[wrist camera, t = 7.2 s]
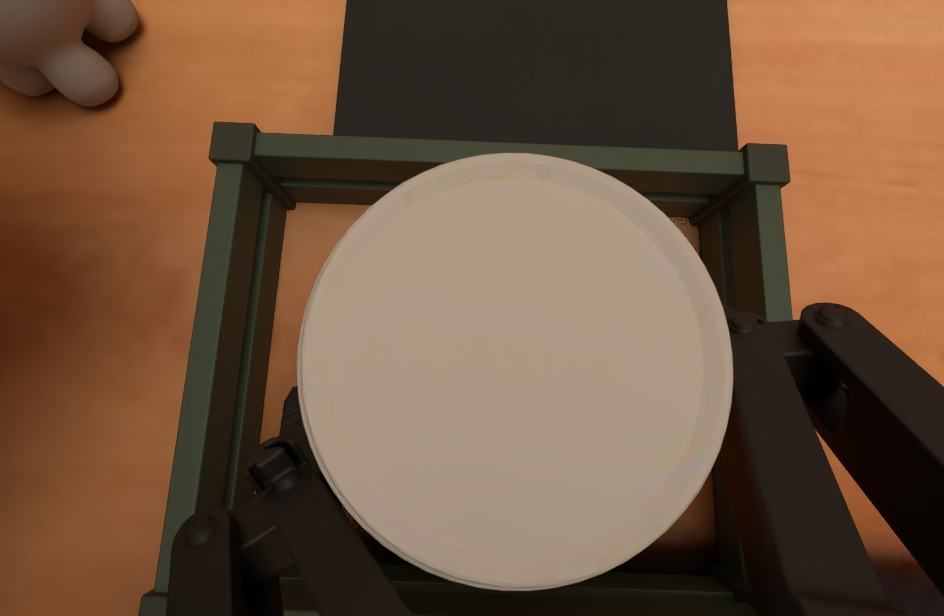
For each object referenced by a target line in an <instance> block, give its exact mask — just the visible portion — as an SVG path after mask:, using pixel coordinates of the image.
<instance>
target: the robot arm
mask: <svg viewBox="0 0 944 616" xmlns="http://www.w3.org/2000/svg"><path fill="white" fill-rule="evenodd" d="M721 304H722V306H723V309H724V313H725V317H726V321H727V325H728V329H729V335H730V342H731V348H732V357H733V390H732V403H731V408H730V413H729V418H728V423H727V428H726V431H725V435H724V438H723V442H722V445H721V449H720V450H721V455H722V459H723V464H724V469H725V473H726V478H727V482H728V487H729V491H730V496H731V500H732V505H733V509H734V514H735V518H736V523H737V527H738V532H739V536H740V541H741V545H742V550H743V554H744V559H745V564H746V568H747V573H748V577H749V582H750V586H751V591H752V595H753V600H754V604H755V609H756V613H757V616H908V615H907V614H906V612H905V611H903V610H901V609H899V608H897V607H895V606H893V605H892V604H891V603H890V602H889V601H888V599H887V598H886V596H885V594H884V592H883V590H882V587H881V585H880V583H879V580H878V578H877V575H876V573H875V571H874V568H873V566H872V564H871V561H870V559H869V556H868V554H867V552H866V549H865V547H864V545H863V542H862V540H861V538H860V535H859V533H858V530H857V528H856V526H855V523H854V521H853V519H852V516H851V514H850V511H849V509H848V507H847V504H846V502H845V500H844V497H843V495H842V493H841V490H840V488H839V485H838V483H837V481H836V478H835V476H834V474H833V471H832V469H831V466H830V464H829V462H828V459H827V457H826V455H825V452H824V450H823V448H822V445H821V443H820V440H819V438H818V436H817V433H816V431H817V432H818V433H819V435H820V436H821V437H822V439H823V440H824V441H825V443H826V444H827V445H828V446H829V448H830V449H831V450H832V452H833V453H834V454H835V456H836V457H837V458H838V459H839V461H840V462H841V463H842V465H843V466H844V467H845V469H846V470H847V471H848V472H849V474H850V475H851V476H852V478H853V479H854V480H855V482H856V483H857V484H858V486H859V487H860V488H861V489H862V491H863V492H864V493H865V495H866V496H867V497H868V499H869V500H870V501H871V502H872V504H873V505H874V506H875V508H876V509H877V510H878V512H879V513H880V514H881V515H882V517H883V518H884V519H885V521H886V522H887V523H888V525H889V526H890V527H891V529H892V530H893V531H894V532H895V534H896V535H897V536H898V538H899V539H900V540H901V542H902V543H903V544H904V545H905V547H906V548H907V549H908V551H909V552H910V553H911V555H912V556H913V557H914V558H915V560H916V561H917V562H918V564H919V565H920V566H921V568H922V569H923V570H924V571H925V573H926V574H927V575H928V577H929V578H930V579H931V581H932V582H933V583H934V585H935V586H936V587H937V588H938V590H939V591H940V592H941V594H942V595H943V596H944V387H943V386H942V385H941V384H940V383H939V382H938V381H936V380H935V379H934V378H933V377H932V376H931V375H929V374H928V373H927V372H926V371H925V370H924V369H923V368H921V367H920V366H919V365H918V364H917V363H916V362H914V361H913V360H912V359H911V358H910V357H909V356H907V355H906V354H905V353H904V352H903V351H902V350H901V349H899V348H898V347H897V346H896V345H895V344H894V343H892V342H891V341H890V340H889V339H888V338H887V337H885V336H884V335H883V334H882V333H881V332H880V331H879V330H877V329H876V328H875V327H874V326H873V325H872V324H870V323H869V322H868V321H867V320H866V319H865V318H863V317H862V316H861V315H860V314H859V313H857V312H856V311H854V310H852V309H851V308H849V307H846V306H843V305H840V304H834V303H815V304H811V305H808V306H806V307H805V308H804V309H803V310H802V312H801V316H800V320H791V321H779V322H768V321H767V320H766V319H765V318H763V317H762V316H760V315H758V314H755V313H751V312H748V311H733V310H732V309H730V308H729V307H728V306H727V305H725V304H724V303H723V302H722V301H721ZM282 415H283V417H282V420H281V428H280V434H279V437H275V438H271V439H269V440H267V441H265V442H263V443H262V444H260V445H259V446H258V447H257V448H256V449H254V450H253V451H252V452H251V454H250V455H249V457H248V458H247V459H246V461H245V464H244V467H243V473H244V477H245V478H246V479H247V481H248V482H249V483H250V484H251V485H252V487H253V488H254V489H255V490H256V491H257V493H256V494H255V495H253V496H252V497H250V498H249V499H247V500H246V501H244V502H242V503H241V504H239V505H238V506H236V507H234V508H233V509H231V510H229V511H228V510H227V509H225V508H224V507H222V506H221V505H211V506H208V507H206V508H203V509H201V510H199V511H197V512H196V513H194V514H193V515H191V516H190V517H189V518H188V519H187V520H186V521H185V522H184V523H183V524H182V525H181V527H180V528H179V530H178V531H177V533H176V534H175V536H174V540H173V543H172V547H171V559H170V571H169V582H168V594H167V606H166V616H284V613H283V604H282V596H281V587H280V579H279V573H280V572H281V571H283V570H284V569H286V568H287V567H288V566H290V565H291V564H293V563H294V565H295V567H296V569H297V571H298V573H299V575H300V577H301V579H302V581H303V583H304V585H305V587H306V589H307V591H308V593H309V595H310V597H311V599H312V601H313V603H314V605H315V607H316V609H317V611H318V613H319V615H320V616H413V615H412V614H411V612H410V611H409V609H408V608H407V606H406V605H405V603H404V602H403V600H402V599H401V597H400V596H399V594H398V593H397V591H396V590H395V588H394V587H393V585H392V584H391V582H390V581H389V579H388V578H387V576H386V575H385V573H384V572H383V570H382V569H381V567H380V566H379V564H378V563H377V561H376V560H375V558H374V557H373V555H372V554H371V552H370V551H369V550H368V548H367V547H366V545H365V544H364V542H363V541H362V539H361V538H360V536H359V535H358V533H357V532H356V530H355V529H354V527H353V526H352V524H351V523H350V521H349V520H348V518H347V517H346V515H345V514H344V512H343V511H342V503H341V501H340V500H339V499H338V497H337V496H336V495H335V493H334V492H333V490H332V489H331V487H330V485H329V484H328V482H327V480H326V478H325V477H324V475H323V473H322V471H321V470H320V467H319V465H318V463H317V461H316V458H315V456H314V454H313V451H312V449H311V447H310V444H309V440H308V437H307V434H306V431H305V428H304V424H303V420H302V414H301V409H300V404H299V398H298V386H296V387H293V388H292V389H291V391H290V393H289V394H288V396H287V398H286V399H285V401H284V407H283V413H282ZM814 428H815V429H814ZM815 430H816V431H815Z"/></svg>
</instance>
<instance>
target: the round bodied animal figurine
mask: <svg viewBox="0 0 944 616" xmlns="http://www.w3.org/2000/svg"><path fill="white" fill-rule="evenodd" d="M137 25H138V15H137V11H136V9H135V7H134V5H133V4H132V2H131V1H130V0H0V80H1V81H2V82H3V83H5V84H6V85H7V86H9V87H10V88H12V89H13V90H15V91H17V92H19V93H21V94H24V95H27V96H39V95H43V94H45V93H48V92H50V91H51V90H53V89H54V88H56V89H57V90H58V91H60V92H61V93H62V94H63V95H64V96H66V97H67V98H68V99H70V100H71V101H73V102H75V103H77V104H79V105H81V106H86V107H92V106H97V105H100V104H102V103H104V102H106V101H108V100H109V99H110V98H112V97H113V96H114V95H115V93H116V92H117V89H118V85H119V81H118V76H117V73H116V71H115V70H114V68H113V67H112V66H111V64H110V63H109V62H108V61H107V60H106V59H105V58H103V57H102V56H101V55H100V54H98V53H97V52H96V51H94V50H93V49H91V48H90V47H88V46H86V45H85V44H84V43H83V42H82V40H81V38H82V34H83V32H84V30H85V29H86V30H87V31H88V32H89V33H91V34H92V35H94V36H95V37H97V38H99V39H101V40H103V41H106V42H120V41H122V40H124V39H126V38H127V37H129V36H130V35H131V34H132V33H133V32H134V31H135V29H136V28H137Z"/></svg>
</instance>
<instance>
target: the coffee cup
mask: <svg viewBox="0 0 944 616" xmlns="http://www.w3.org/2000/svg"><path fill="white" fill-rule="evenodd" d="M297 385H298V398H299V404H300V409H301V414H302V420H303V424H304V428H305V431H306V434H307V437H308V440H309V444H310V447H311V449H312V451H313V454H314V456H315V458H316V461H317V463H318V465H319V467H320V470H321V471H322V473H323V475H324V477H325V478H326V480H327V482H328V484H329V485H330V487H331V489H332V490H333V492H334V493H335V495H336V496H337V497H338V499H339V500H340V501H341V503H342V504H343V505H344V507H345V508H346V510H347V511H348V512H349V513H350V514H351V515H352V516H353V517H354V518H355V520H356V521H357V522H358V523H359V524H360V525H361V526H362V527H363V528H364V529H365V530H366V531H367V532H368V533H369V534H371V535H372V536H373V537H374V538H375V539H376V540H377V541H379V542H380V543H381V544H382V545H383V546H385V547H386V548H388V549H389V550H391V551H392V552H394V553H395V554H396V555H398V556H399V557H401V558H402V559H404V560H406V561H408V562H409V563H411V564H413V565H415V566H417V567H419V568H421V569H423V570H425V571H427V572H429V573H432V574H434V575H437V576H440V577H442V578H445V579H447V580H450V581H454V582H458V583H462V584H465V585H469V586H473V587H478V588H486V589H494V590H502V591H532V590H541V589H550V588H557V587H561V586H565V585H569V584H573V583H578V582H581V581H584V580H586V579H589V578H592V577H594V576H597V575H600V574H603V573H605V572H607V571H609V570H611V569H613V568H614V567H616V566H618V565H620V564H622V563H624V562H626V561H627V560H629V559H630V558H632V557H633V556H635V555H636V554H638V553H639V552H641V551H642V550H644V549H645V548H647V547H648V546H649V545H650V544H651V543H652V542H654V541H655V540H656V539H657V538H658V537H660V536H661V535H662V534H664V533H665V532H666V531H667V530H668V529H669V528H670V527H671V526H672V525H673V524H674V522H675V521H676V520H677V519H678V518H679V517H680V516H681V515H682V513H683V512H684V511H685V510H686V508H687V507H688V506H689V505H690V503H691V502H692V501H693V499H694V498H695V497H696V496H697V494H698V493H699V491H700V489H701V488H702V486H703V484H704V482H705V480H706V478H707V477H708V475H709V473H710V471H711V469H712V467H713V464H714V462H715V460H716V458H717V456H718V454H719V451H720V449H721V445H722V442H723V438H724V435H725V431H726V428H727V423H728V418H729V413H730V408H731V403H732V390H733V357H732V348H731V342H730V335H729V329H728V325H727V321H726V317H725V313H724V309H723V306H722V304H721V301H720V298H719V296H718V293H717V290H716V288H715V285H714V283H713V281H712V279H711V277H710V275H709V273H708V271H707V269H706V267H705V265H704V264H703V262H702V261H701V259H700V257H699V256H698V254H697V253H696V251H695V249H694V248H693V247H692V245H691V244H690V243H689V241H688V240H687V239H686V237H685V236H684V235H683V234H682V232H681V231H680V230H679V229H678V228H677V227H676V226H675V224H674V223H673V222H672V221H671V220H670V219H669V218H668V217H667V216H666V215H665V214H664V213H663V212H662V211H661V210H659V209H658V208H657V207H656V206H655V205H654V204H653V203H651V202H650V201H649V200H648V199H646V198H645V197H644V196H642V195H641V194H639V193H638V192H637V191H635V190H634V189H632V188H631V187H629V186H627V185H626V184H624V183H622V182H620V181H619V180H617V179H615V178H614V177H612V176H610V175H607V174H605V173H603V172H601V171H598V170H596V169H594V168H591V167H588V166H585V165H582V164H579V163H576V162H574V161H570V160H566V159H561V158H556V157H552V156H546V155H538V154H530V153H497V154H483V155H478V156H473V157H468V158H463V159H459V160H456V161H452V162H449V163H445V164H441V165H439V166H437V167H434V168H432V169H430V170H427V171H425V172H423V173H421V174H419V175H417V176H415V177H413V178H411V179H409V180H407V181H405V182H403V183H401V184H400V185H399V186H397V187H396V188H394V189H393V190H392V191H390V192H389V193H387V194H386V195H385V196H383V197H382V198H381V199H379V200H378V201H377V202H376V203H374V204H373V205H372V206H371V207H369V208H368V209H367V210H366V211H365V212H364V213H363V214H362V215H361V216H360V217H359V218H358V219H357V220H356V221H355V222H354V223H353V224H352V225H351V226H350V228H349V229H348V230H347V231H346V233H345V234H344V235H343V236H342V238H341V239H340V240H339V241H338V243H337V244H336V246H335V247H334V249H333V250H332V252H331V253H330V255H329V257H328V258H327V260H326V261H325V263H324V265H323V267H322V269H321V271H320V273H319V275H318V277H317V279H316V281H315V283H314V286H313V289H312V291H311V294H310V297H309V299H308V302H307V305H306V309H305V313H304V317H303V321H302V325H301V329H300V337H299V344H298V351H297Z"/></svg>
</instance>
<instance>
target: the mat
mask: <svg viewBox="0 0 944 616" xmlns="http://www.w3.org/2000/svg"><path fill="white" fill-rule="evenodd" d="M333 136H356V137H381V138H406V139H431V140H456V141H481V142H506V143H530V144H555V145H580V146H605V147H630V148H655V149H679V150H704V151H729V152H738V139H737V126H736V113H735V100H734V87H733V74H732V61H731V48H730V35H729V22H728V9H727V0H347V3H346V13H345V23H344V33H343V43H342V53H341V63H340V73H339V83H338V93H337V103H336V113H335V123H334V133H333Z"/></svg>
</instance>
